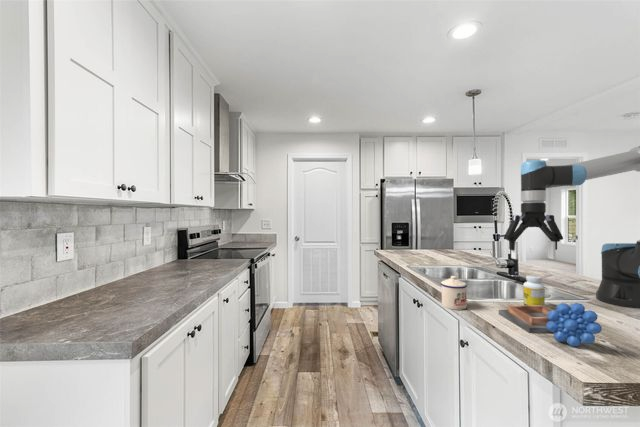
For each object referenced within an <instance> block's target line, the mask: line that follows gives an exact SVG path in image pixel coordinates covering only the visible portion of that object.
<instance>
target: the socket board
mask: <svg viewBox="0 0 640 427" xmlns="http://www.w3.org/2000/svg"><path fill="white" fill-rule="evenodd" d="M551 310H553V309H552V308H550V307H548V306H546V305H545V306H544V305H524V304H523V305H520V304H519V305H507V309H498V315H499V316H501V317H503V318H504V319H506V320H508V321H509V322H511V323H513V324H514V325H516V326H517V327H519V328H521V329H522V330H524V331H526V332H527V333H529V334H554V333H555V332H556V331H555V332H552V331H549V330H548V329H547V328H546V324H547V323H548V322H549V321H551V320H549V319H548V317H547V314H548V312H549V311H551Z"/></svg>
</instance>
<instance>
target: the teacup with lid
mask: <svg viewBox="0 0 640 427" xmlns="http://www.w3.org/2000/svg"><path fill="white" fill-rule="evenodd" d="M440 286H441V306H442V307H443V308H446V309H448V310H453V311H454V310H455V311H462V310H466V308H467V287H468V285H467V283H466V282H465V281H462V280H461V279H458V278H457V276H456V275H450V278H447V279H444V280H442V281H441V282H440Z"/></svg>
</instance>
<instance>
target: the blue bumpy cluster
mask: <svg viewBox="0 0 640 427" xmlns="http://www.w3.org/2000/svg"><path fill="white" fill-rule="evenodd" d="M547 317H548V319H549V320H551V321H549V322H548V323H547V324H546V328H547V329H548V330H549V331H552V332H555V331H556V332H555V333H553V338H554V339H555V341H557V342H561V343H562V342H567V344H568V345H569V346H571V347H575V348H576V347H579V346H580V345H581V344H582V343H583V344H586V345H589V344H593V343H594V342H596V336H595V335H598V334H600V333H601V332H602V330H603V329H602V328H603V326H601V324H600V323H599V322H596V321H597V320H598V314H597V313H596V312H595V311H593V310H590V309H589V310H586V307H585V306H584V305H583V304H582V303H579V302H576V303H572V304H571V305H569V304H567V303H565V302H560V303H559V304H557V305H556V310H555V309H552V310H551V311H549V312H548V314H547Z"/></svg>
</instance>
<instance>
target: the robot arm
mask: <svg viewBox="0 0 640 427" xmlns="http://www.w3.org/2000/svg"><path fill="white" fill-rule="evenodd" d="M631 171H635V172H640V145H639V146H635V147H633V148H631V149H629V151H624V152H620V153H616V154H612V155H606V156H603V157H599V158H598V157H597V158H593V159H592V158H591V159H588V160H585V161H579V162H575V163H569V164H564V165H563V164H562V165H547V163H546V160H541V159H538V160H537V159H535V160H528V161H524V162H522V164H521V167H520V201H521V202H522V203H521V204H520V212H521V215H520V214H518V215H517V214H514V215H512V218H511V222H510V224H509V226H508V228H507V229H506V232H505V234H504V235H503V239H504V240H507V241H508V249H509V250H510V258H511V259H514V260H519V249H518V248H519V242H518V241H517V239H519V237H520V236H521V235H522V234H523V233H524V232H525V231H526V230H527V229H528V228H539V229H540V230H541V231H542V232H543V234H545V236H546V237H547V238H548V239H549V240H548V241H547V259H550V260H556V251H557V249H558V242H560V241H561V240H562V241H563V240H564V236H563V234H562V233H561V231H560V229H559V227H558V225H557V223H556V221H555V220H556V219H555V216H554V215H553V214H546V211H547V209H546V208H547V207H546V206H547V205H546V201H547V189H551V188H558V187H568V186H569V187H573V186H574V187H575V186H581V185H583V184H584V183H585V182H586V181H588V180H589V181H590V180H592V179H594V180H595V179H599V178H603V177H608V176H612V175H619V174H623V173H628V172H631ZM545 221H546V222H545ZM520 222H521V223H520ZM519 223H520V224H519ZM546 223H547V224H546ZM518 225H519V226H518ZM600 254H601V281H600V284H599V285H598V289H597V290H596V292H595V298H596V300H598V301H600V302H603V303H607V304H609V305H610V304H611V305H615V306H622V307H626V308H640V239H638V240H636V243H628V242H627V243H626V242H625V243H621V242H620V243H615V242H613V243H611V242H610V243H604V244H602V246H601V252H600Z"/></svg>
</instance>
